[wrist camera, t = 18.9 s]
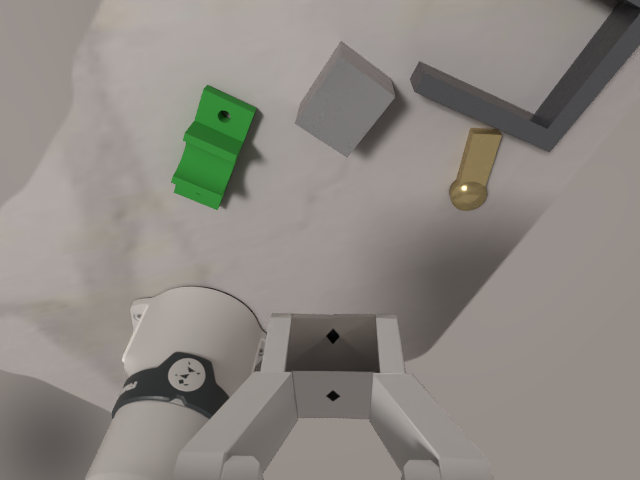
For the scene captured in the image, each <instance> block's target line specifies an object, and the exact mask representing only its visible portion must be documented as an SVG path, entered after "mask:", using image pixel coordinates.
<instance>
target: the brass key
mask: <svg viewBox="0 0 640 480" xmlns="http://www.w3.org/2000/svg"><path fill="white" fill-rule="evenodd" d="M501 137H502V134H501V133H500V131H499V130H498V129H483V128H470V131H469V135H468V138H467V142H466V146H465V149H464V153H463V157H462V160H461V164H460V168H459V172H458V175H457V179H456V180H455V181H454V182H453V183H452V185H451V186H450V189H449V195H450V198H451V201H452V203H453V205H454V206H455V207H456V208H457V209H459V210H463V211H469V210H473V209H476V208H478V207H479V206H481V205H482V204H483V203H484V201H485V199H486V197H487V191H486V188H485V186H486V183H487V180H488V177H489V174H490V171H491V168H492V165H493V162H494V159H495V156H496V153H497V149H498V146H499V143H500V140H501Z"/></svg>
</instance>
